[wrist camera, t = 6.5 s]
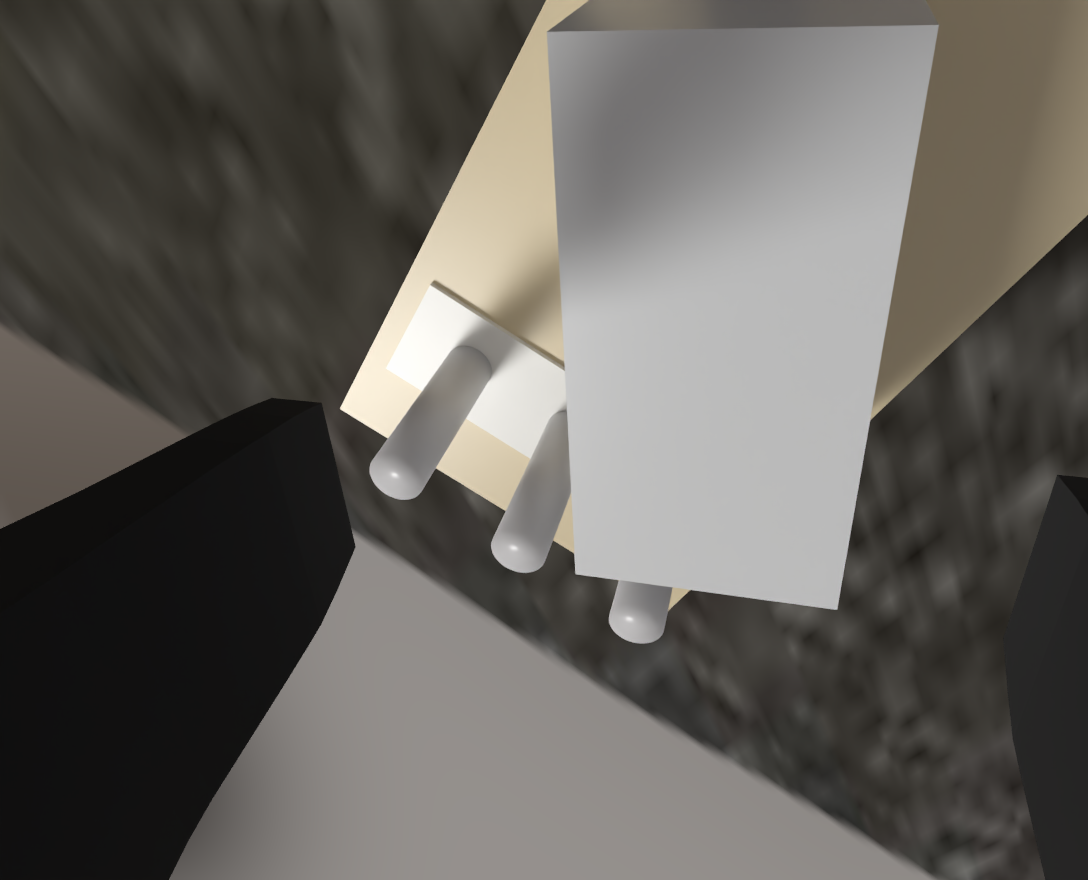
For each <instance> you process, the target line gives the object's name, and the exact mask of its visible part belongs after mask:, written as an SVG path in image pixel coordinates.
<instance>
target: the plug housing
mask: <svg viewBox="0 0 1088 880" xmlns="http://www.w3.org/2000/svg"><path fill="white" fill-rule="evenodd" d="M938 27H939V24H938V22H937V21H936V19H935V17H934V15H933V13H932V11H931V9H930V7H929V6H928V4H927V2H926V0H589V1H588V2H586V3H585V4H584V5H582V6H581V7H580V8H578V9H577V10H575V11H574V12H573V13H571V14H570V15H569V16H567V17H566V18H565V19H563V20H562V21H561V22H559V23H558V24H557V25H555V26H554V27H553V28H551V29H550V30H549V31H547V45H548V64H549V82H550V101H551V120H552V139H553V158H554V177H555V195H556V214H557V233H558V252H559V271H560V289H561V308H562V327H563V346H564V365H565V384H566V402H567V421H568V440H569V459H570V478H571V497H572V515H573V534H574V553H575V572H576V574H578V575H586V576H593V577H600V578H608V579H615V580H622V581H630V582H637V583H644V584H652V585H659V586H666V587H674V588H681V589H688V590H696V591H703V592H710V593H718V594H725V595H732V596H740V597H747V598H754V599H762V600H769V601H776V602H783V603H791V604H798V605H805V606H813V607H820V608H827V609H835V610H837V607H838V601H839V596H840V590H841V584H842V578H843V573H844V567H845V561H846V556H847V550H848V544H849V538H850V533H851V527H852V521H853V515H854V510H855V504H856V498H857V492H858V487H859V481H860V475H861V469H862V464H863V458H864V452H865V446H866V441H867V435H868V429H869V423H870V418H871V412H872V406H873V400H874V395H875V389H876V383H877V378H878V372H879V366H880V360H881V355H882V349H883V343H884V337H885V332H886V326H887V320H888V314H889V309H890V303H891V297H892V291H893V286H894V280H895V274H896V268H897V263H898V257H899V251H900V245H901V240H902V234H903V228H904V222H905V217H906V211H907V205H908V200H909V194H910V188H911V182H912V177H913V171H914V165H915V159H916V154H917V148H918V142H919V136H920V131H921V125H922V119H923V113H924V108H925V102H926V96H927V90H928V85H929V79H930V73H931V67H932V62H933V56H934V50H935V44H936V39H937V33H938Z"/></svg>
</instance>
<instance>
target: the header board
mask: <svg viewBox="0 0 1088 880" xmlns="http://www.w3.org/2000/svg"><path fill="white" fill-rule="evenodd" d="M588 1H589V0H546V2H545V4H544V6H543V8H542V10H541V12H540V14H539V16H538V18H537V20H536V22H535V24H534V26H533V27H532V29H531V31H530V33H529V35H528V37H527V39H526V41H525V43H524V45H523V47H522V49H521V51H520V53H519V55H518V57H517V59H516V61H515V63H514V65H513V67H512V69H511V71H510V73H509V75H508V77H507V79H506V81H505V83H504V85H503V87H502V89H501V91H500V93H499V95H498V97H497V99H496V101H495V103H494V105H493V107H492V109H491V111H490V113H489V115H488V117H487V119H486V121H485V123H484V125H483V127H482V129H481V130H480V132H479V134H478V136H477V138H476V140H475V142H474V144H473V146H472V148H471V150H470V152H469V154H468V156H467V158H466V160H465V162H464V164H463V166H462V168H461V170H460V172H459V174H458V176H457V178H456V180H455V182H454V184H453V186H452V188H451V190H450V192H449V194H448V196H447V198H446V200H445V202H444V204H443V206H442V208H441V210H440V212H439V214H438V216H437V218H436V220H435V222H434V224H433V226H432V228H431V230H430V232H429V233H428V235H427V237H426V239H425V241H424V243H423V245H422V247H421V249H420V251H419V253H418V255H417V257H416V259H415V261H414V263H413V265H412V267H411V269H410V271H409V273H408V275H407V277H406V279H405V281H404V283H403V285H402V287H401V289H400V291H399V293H398V295H397V297H396V299H395V301H394V303H393V305H392V307H391V309H390V311H389V313H388V315H387V317H386V319H385V321H384V323H383V325H382V327H381V329H380V331H379V333H378V335H377V336H376V338H375V340H374V342H373V344H372V346H371V348H370V350H369V352H368V354H367V356H366V358H365V360H364V362H363V364H362V366H361V368H360V370H359V372H358V374H357V376H356V378H355V380H354V382H353V384H352V386H351V388H350V390H349V392H348V394H347V396H346V398H345V400H344V402H343V404H342V406H341V408H340V409H341V410H343V411H344V412H346V413H347V414H349V415H351V416H352V417H354V418H356V419H357V420H359V421H360V422H362V423H364V424H365V425H367V426H369V427H370V428H372V429H373V430H375V431H377V432H378V433H380V434H382V435H383V436H385V437H386V438H388V439H387V441H386V442H385V444H384V445H383V446H382V448H381V449H380V451H379V452H378V453H377V455H376V456H375V458H374V459H373V460H372V462H371V464H370V475H371V478H372V480H373V482H374V483H375V485H376V486H377V487H378V488H379V489H380V490H381V491H382V492H384V493H385V494H387V495H388V496H391V497H393V498H396V499H402V500H407V499H412V498H415V497H416V496H418V495H419V494H420V493H421V491H422V490H423V488H424V486H425V485H426V483H427V481H428V480H429V478H430V477H431V475H432V473H433V472H434V470H435V468H437V469H438V470H440V471H442V472H443V473H445V474H446V475H448V476H450V477H451V478H453V479H455V480H456V481H458V482H459V483H461V484H463V485H464V486H466V487H468V488H469V489H471V490H472V491H474V492H476V493H477V494H479V495H481V496H482V497H484V498H485V499H487V500H489V501H490V502H492V503H494V504H495V505H497V506H498V507H500V508H502V509H503V510H505V511H506V512H505V514H504V516H503V518H502V520H501V522H500V525H499V527H498V529H497V531H496V533H495V535H494V537H493V540H492V543H491V548H492V552H493V554H494V556H495V558H496V559H497V560H498V561H499V562H500V563H501V564H502V565H503V566H505V567H507V568H508V569H511V570H513V571H516V572H522V573H528V572H533V571H536V570H538V569H539V568H541V567H542V565H543V564H544V562H545V560H546V557H547V554H548V552H549V549H550V547H551V544H552V542H553V540H554V541H555V542H557V543H558V544H560V545H562V546H563V547H565V548H567V549H568V550H570V551H571V552H573V553H574V534H573V515H572V497H571V478H570V459H569V440H568V421H567V402H566V384H565V365H564V346H563V327H562V308H561V289H560V271H559V252H558V233H557V214H556V195H555V177H554V158H553V139H552V120H551V101H550V82H549V64H548V45H547V31H549V30H550V29H551V28H553V27H554V26H555V25H557V24H558V23H559V22H561V21H562V20H563V19H565V18H566V17H567V16H569V15H570V14H571V13H573V12H574V11H575V10H577V9H578V8H580V7H581V6H582V5H584V4H585V3H586V2H588ZM926 2H927V4H928V6H929V7H930V9H931V11H932V13H933V15H934V17H935V19H936V21H937V22H938V24H939V27H938V33H937V39H936V44H935V50H934V56H933V62H932V67H931V73H930V79H929V85H928V90H927V96H926V102H925V108H924V113H923V119H922V125H921V131H920V136H919V142H918V148H917V154H916V159H915V165H914V171H913V177H912V182H911V188H910V194H909V200H908V205H907V211H906V217H905V222H904V228H903V234H902V240H901V245H900V251H899V257H898V263H897V268H896V274H895V280H894V286H893V291H892V297H891V303H890V309H889V314H888V320H887V326H886V332H885V337H884V343H883V349H882V355H881V360H880V366H879V372H878V378H877V383H876V389H875V395H874V400H873V406H872V412H871V418H870V420H871V419H872V418H873V417H874V416H875V415H876V414H877V413H878V412H879V411H880V410H881V409H882V408H883V407H885V406H886V405H887V404H888V403H889V402H890V401H891V400H892V399H893V398H894V397H895V396H896V395H897V394H898V393H899V392H900V391H901V390H903V389H904V388H905V387H906V386H907V385H908V384H909V383H910V382H911V381H912V380H913V379H914V378H915V377H916V376H917V375H918V374H919V373H921V372H922V371H923V370H924V369H925V368H926V367H927V366H928V365H929V364H930V363H931V362H932V361H933V360H934V359H935V358H936V357H937V356H939V355H940V354H941V353H942V352H943V351H944V350H945V349H946V348H947V347H948V346H949V345H950V344H951V343H952V342H953V341H954V340H956V339H957V338H958V337H959V336H960V335H961V334H962V333H963V332H964V331H965V330H966V329H967V328H968V327H969V326H970V325H971V324H972V323H974V322H975V321H976V320H977V319H978V318H979V317H980V316H981V315H982V314H983V313H984V312H985V311H986V310H987V309H988V308H989V307H990V306H992V305H993V304H994V303H995V302H996V301H997V300H998V299H999V298H1000V297H1001V296H1002V295H1003V294H1004V293H1005V292H1006V291H1007V290H1008V289H1010V288H1011V287H1012V286H1013V285H1014V284H1015V283H1016V282H1017V281H1018V280H1019V279H1020V278H1021V277H1022V276H1023V275H1024V274H1025V273H1027V272H1028V271H1029V270H1030V269H1031V268H1032V267H1033V266H1034V265H1035V264H1036V263H1037V262H1038V261H1039V260H1040V259H1041V258H1042V257H1043V256H1045V255H1046V254H1047V253H1048V252H1049V251H1050V250H1051V249H1052V248H1053V247H1054V246H1055V245H1056V244H1057V243H1058V242H1059V241H1060V240H1061V239H1063V238H1064V237H1065V236H1066V235H1067V234H1068V233H1069V232H1070V231H1071V230H1072V229H1073V228H1074V227H1075V226H1076V225H1077V224H1078V223H1079V222H1081V221H1082V220H1083V219H1084V218H1085V217H1086V216H1087V215H1088V0H926ZM688 591H690V590H688V589H681V588H674V587H666V586H659V585H652V584H644V583H637V582H630V581H622V580H619V583H618V586H617V590H616V594H615V597H614V601H613V604H612V608H611V611H610V615H609V623H610V626H611V628H612V629H613V631H614V632H615V633H616V634H617V635H619V636H620V637H621V638H623V639H625V640H627V641H630V642H634V643H650V642H653V641H655V640H657V639H658V638H660V637H661V635H662V634H663V632H664V627H665V622H666V617H667V613H668V610H669V609H670V608H672V607H673V606H674V605H675V604H676V603H677V602H678V601H679V600H680V599H681V598H682V597H683V596H684V595H685V594H686V593H687V592H688Z"/></svg>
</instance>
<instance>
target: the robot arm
mask: <svg viewBox="0 0 1088 880" xmlns="http://www.w3.org/2000/svg"><path fill="white" fill-rule="evenodd" d="M354 549H355V543H354V538H353V534H352V530H351V526H350V522H349V517H348V513H347V509H346V505H345V500H344V496H343V492H342V488H341V483H340V479H339V475H338V471H337V466H336V462H335V458H334V454H333V449H332V445H331V441H330V437H329V433H328V428H327V424H326V420H325V416H324V411H323V407H322V403H317V402H307V401H297V400H287V399H276V398H271V399H268V400H266V401H263V402H261V403H258V404H255V405H253V406H250V407H248V408H246V409H244V410H241V411H239V412H237V413H235V414H233V415H231V416H228V417H226V418H224V419H222V420H220V421H218V422H216V423H214V424H212V425H210V426H208V427H206V428H204V429H202V430H200V431H198V432H196V433H194V434H192V435H190V436H188V437H186V438H184V439H182V440H180V441H178V442H176V443H174V444H172V445H170V446H168V447H166V448H164V449H162V450H161V451H159V452H156V453H154V454H152V455H150V456H149V457H147V458H145V459H143V460H141V461H139V462H137V463H135V464H133V465H131V466H129V467H127V468H125V469H123V470H121V471H119V472H117V473H115V474H113V475H111V476H109V477H107V478H105V479H103V480H101V481H99V482H97V483H95V484H93V485H91V486H89V487H88V488H85V489H84V490H81V491H79V492H78V493H75V494H73V495H71V496H69V497H67V498H65V499H63V500H61V501H58V502H56V503H54V504H52V505H50V506H48V507H46V508H44V509H41V510H40V511H37V512H35V513H33V514H31V515H29V516H27V517H25V518H22V519H20V520H18V521H17V522H14V523H12V524H10V525H8V526H6V527H3V528H2V529H0V880H169V878H170V876H171V874H172V872H173V870H174V868H175V866H176V864H177V862H178V860H179V858H180V856H181V854H182V852H183V850H184V848H185V846H186V844H187V842H188V840H189V839H190V837H191V835H192V833H193V832H194V830H195V828H196V826H197V824H198V823H199V821H200V819H201V818H202V816H203V814H204V812H205V810H206V809H207V807H208V806H209V803H210V802H211V800H212V798H213V797H214V795H215V794H216V792H217V791H218V789H219V787H220V786H221V784H222V782H223V781H224V780H225V778H226V776H227V775H228V773H229V772H230V770H231V768H232V767H233V765H234V764H235V762H236V760H237V759H238V757H239V756H240V754H241V752H242V751H243V749H244V748H245V746H246V745H247V743H248V741H249V740H250V738H251V737H252V735H253V734H254V732H255V730H256V729H257V727H258V725H259V724H260V722H261V721H262V719H263V718H264V716H265V714H266V713H267V711H268V710H269V708H270V707H271V705H272V703H273V702H274V700H275V698H276V697H277V696H278V694H279V692H280V690H281V689H282V688H283V686H284V684H285V683H286V681H287V680H288V678H289V676H290V674H291V673H292V671H293V670H294V668H295V667H296V665H297V663H298V662H299V660H300V658H301V657H302V655H303V653H304V652H305V650H306V648H307V647H308V645H309V644H310V642H311V640H312V639H313V637H314V635H315V634H316V632H317V630H318V629H319V627H320V625H321V623H322V621H323V619H324V617H325V615H326V613H327V610H328V609H329V606H330V604H331V602H332V600H333V598H334V596H335V594H336V591H337V589H338V587H339V585H340V582H341V580H342V578H343V575H344V573H345V570H346V568H347V566H348V563H349V561H350V559H351V556H352V554H353V551H354ZM1003 639H1004V651H1005V663H1006V675H1007V687H1008V698H1009V707H1010V716H1011V726H1012V735H1013V742H1014V746H1015V751H1016V756H1017V760H1018V765H1019V769H1020V773H1021V778H1022V782H1023V786H1024V791H1025V795H1026V799H1027V804H1028V808H1029V812H1030V817H1031V821H1032V825H1033V830H1034V834H1035V838H1036V842H1037V846H1038V851H1039V855H1040V859H1041V863H1042V867H1043V872H1044V876H1045V880H1088V478H1083V477H1073V476H1063V475H1057V477H1056V481H1055V484H1054V487H1053V490H1052V493H1051V496H1050V499H1049V502H1048V505H1047V508H1046V511H1045V514H1044V517H1043V520H1042V523H1041V526H1040V529H1039V532H1038V535H1037V538H1036V541H1035V544H1034V547H1033V550H1032V553H1031V556H1030V559H1029V562H1028V565H1027V568H1026V571H1025V574H1024V577H1023V580H1022V584H1021V587H1020V590H1019V593H1018V596H1017V599H1016V602H1015V605H1014V608H1013V611H1012V614H1011V617H1010V620H1009V623H1008V626H1007V629H1006V632H1005V635H1004V638H1003Z"/></svg>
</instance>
